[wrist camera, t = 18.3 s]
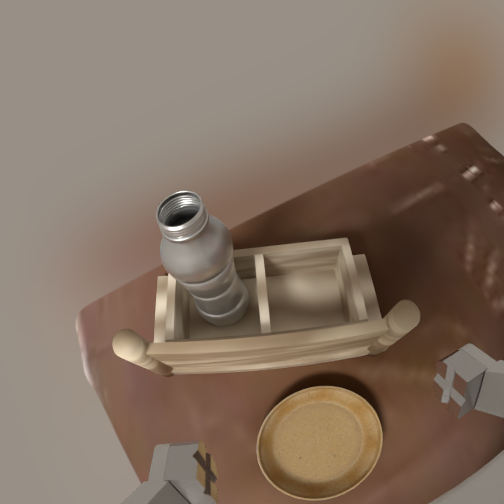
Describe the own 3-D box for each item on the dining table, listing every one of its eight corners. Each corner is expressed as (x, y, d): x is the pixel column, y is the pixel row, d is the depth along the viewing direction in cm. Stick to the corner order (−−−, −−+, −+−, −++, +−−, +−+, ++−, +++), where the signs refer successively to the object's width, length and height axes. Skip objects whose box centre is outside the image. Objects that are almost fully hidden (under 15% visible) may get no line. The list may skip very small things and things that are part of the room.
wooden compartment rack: (384, 353, 34) (423, 326, 23) (157, 376, 35) (111, 357, 25) (362, 259, 41) (383, 206, 31) (161, 281, 42) (127, 235, 32)
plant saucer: (393, 408, 30) (401, 408, 28) (343, 507, 24) (347, 513, 21) (291, 369, 34) (292, 366, 32) (237, 468, 28) (233, 472, 26)
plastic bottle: (261, 310, 37) (241, 210, 20) (217, 340, 36) (156, 263, 19) (233, 275, 40) (198, 164, 23) (192, 302, 39) (126, 206, 22)
